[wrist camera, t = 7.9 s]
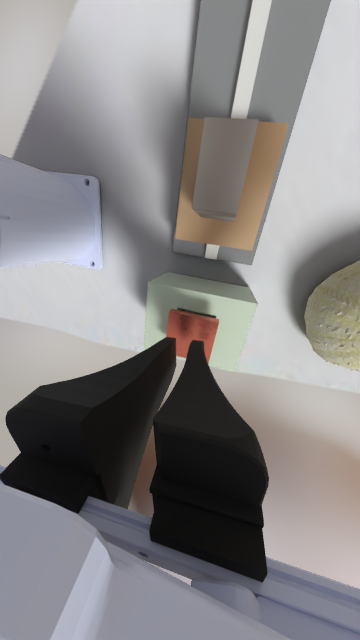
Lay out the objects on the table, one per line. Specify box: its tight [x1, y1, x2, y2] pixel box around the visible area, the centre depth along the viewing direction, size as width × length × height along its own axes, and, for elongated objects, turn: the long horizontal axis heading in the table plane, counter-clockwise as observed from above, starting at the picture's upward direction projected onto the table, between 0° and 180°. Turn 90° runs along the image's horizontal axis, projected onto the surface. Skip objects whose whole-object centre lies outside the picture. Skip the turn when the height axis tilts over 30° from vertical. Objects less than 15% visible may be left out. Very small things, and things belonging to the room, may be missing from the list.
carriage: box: [175, 117, 289, 251], centre depth 11 cm, size 6×7×5 cm
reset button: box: [166, 309, 219, 364], centre depth 14 cm, size 3×3×2 cm
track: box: [172, 0, 331, 265], centre depth 12 cm, size 7×19×1 cm, turn 172°
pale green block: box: [144, 272, 258, 372], centre depth 16 cm, size 8×6×5 cm
